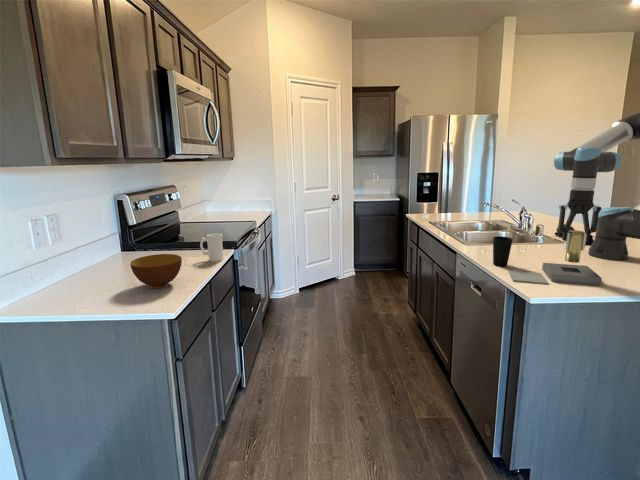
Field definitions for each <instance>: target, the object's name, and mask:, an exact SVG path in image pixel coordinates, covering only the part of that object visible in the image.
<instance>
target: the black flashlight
mask: <svg viewBox="0 0 640 480" xmlns="http://www.w3.org/2000/svg"><path fill="white" fill-rule="evenodd" d="M565 224H566V223H564V226H565ZM563 228H564V227H563ZM570 230H575V228H574V227H573V226H572V225H571V226H570V229H569V231H570ZM569 231H568V232H569ZM583 232H584V233H585V231H583ZM554 235H555V236H556V237H558V238H562V236H563V232H562V231H560V230H559V229H558V227H557V228H556V232H554ZM594 238H595V236H594V235H592V234H590V235H589V241H588V242H585V246H588V245H587V244H592V243H593V241H594Z"/></svg>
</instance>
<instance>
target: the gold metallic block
mask: <svg viewBox="0 0 640 480" xmlns="http://www.w3.org/2000/svg"><path fill="white" fill-rule="evenodd" d="M584 232H585V231H582V230H577V229H576V230H575V229H574V230H570V231H569V233H570V238H569V245H568V250H566V251H565V257H564V262H568V263H575V264H577V263H580V262H581V261H580V260H581V254H582V250H581V248H582V241H583V235H584Z"/></svg>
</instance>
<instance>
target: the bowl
mask: <svg viewBox="0 0 640 480" xmlns="http://www.w3.org/2000/svg"><path fill="white" fill-rule="evenodd" d="M182 260H183V259H182V256H180V255H178V254H172V253H160V254H159V253H157V254H150V255H144V256H141V257H137V258H135V259H133V260H131V262H130V264H129V265H130V268H131V272H132V273H133V275H134V276H135V277H136V279H137V280H138V281H139V282H141V283H142V284H143V285H147V286H150V288H151V289H162V288H166V287H168V285H169V283H172V281H174V279H176V277H177V276H178V274H179V272H180V271H181V268H182Z"/></svg>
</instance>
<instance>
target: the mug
mask: <svg viewBox="0 0 640 480" xmlns="http://www.w3.org/2000/svg"><path fill="white" fill-rule="evenodd" d="M204 242H206V243H207V251H206V250H205V249H204V246H203V244H204ZM199 247H200V250H201V252H202V254H203V255H207V256H208V260H209V262H211V263H212V262H215V263H216V262H217V263H218V262H221V261H223V260H224V253H223V252H224V251H223V234H222V233H218V232H217V233H216V232H215V233H208V234H206V237H201V240H200V244H199Z"/></svg>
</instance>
